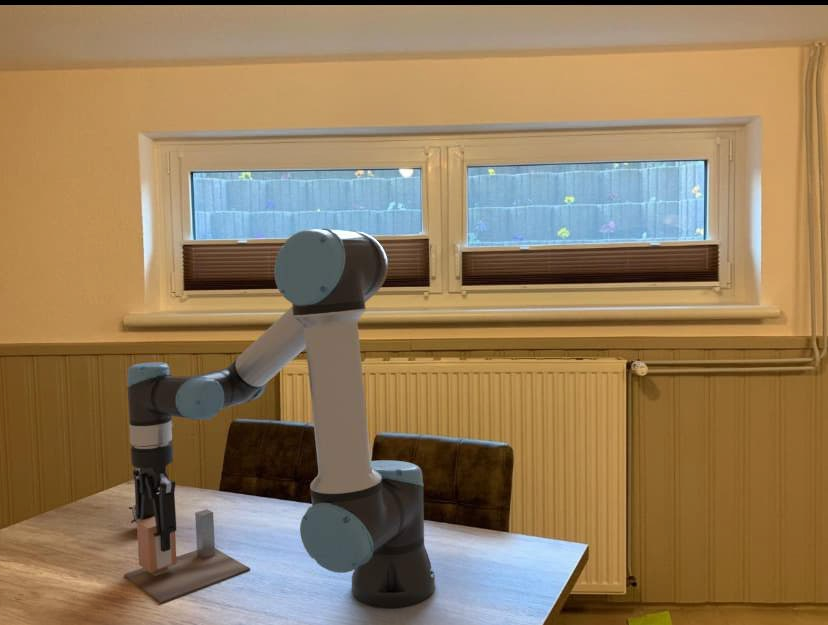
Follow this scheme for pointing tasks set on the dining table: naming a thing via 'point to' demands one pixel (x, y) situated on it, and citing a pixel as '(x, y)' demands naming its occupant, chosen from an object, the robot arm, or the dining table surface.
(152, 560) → the terracotta upright block
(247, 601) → the dining table surface
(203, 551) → the grey post
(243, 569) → the board
